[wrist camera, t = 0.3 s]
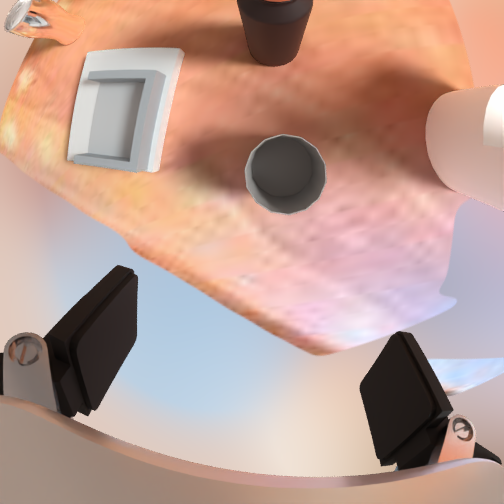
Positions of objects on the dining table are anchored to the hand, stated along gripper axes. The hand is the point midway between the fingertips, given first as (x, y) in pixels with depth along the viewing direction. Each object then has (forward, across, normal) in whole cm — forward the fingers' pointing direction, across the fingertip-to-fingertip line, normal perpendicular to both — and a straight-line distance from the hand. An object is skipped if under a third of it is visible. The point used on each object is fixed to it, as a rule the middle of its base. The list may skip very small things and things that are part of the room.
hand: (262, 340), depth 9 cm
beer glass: (+31, +40, -23) cm, 56 cm away
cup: (+31, -1, -3) cm, 31 cm away
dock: (+31, +24, -8) cm, 40 cm away
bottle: (+31, +4, -20) cm, 37 cm away
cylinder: (+31, -29, -18) cm, 46 cm away
